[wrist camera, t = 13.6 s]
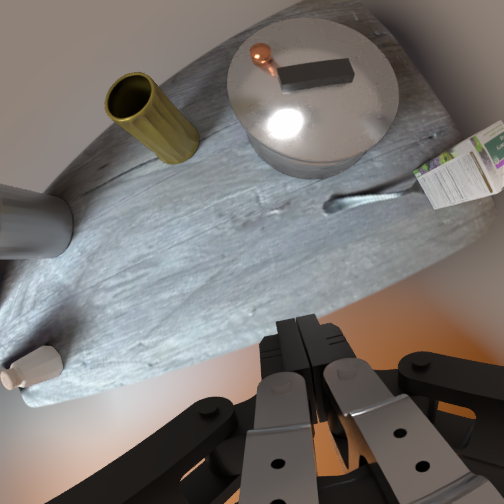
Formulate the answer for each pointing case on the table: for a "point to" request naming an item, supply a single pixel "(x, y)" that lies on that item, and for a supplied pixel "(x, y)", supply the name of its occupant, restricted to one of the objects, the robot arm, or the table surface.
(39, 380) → the pepper shaker
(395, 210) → the table surface
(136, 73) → the vase
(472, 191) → the syrup box
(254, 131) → the pot lid
